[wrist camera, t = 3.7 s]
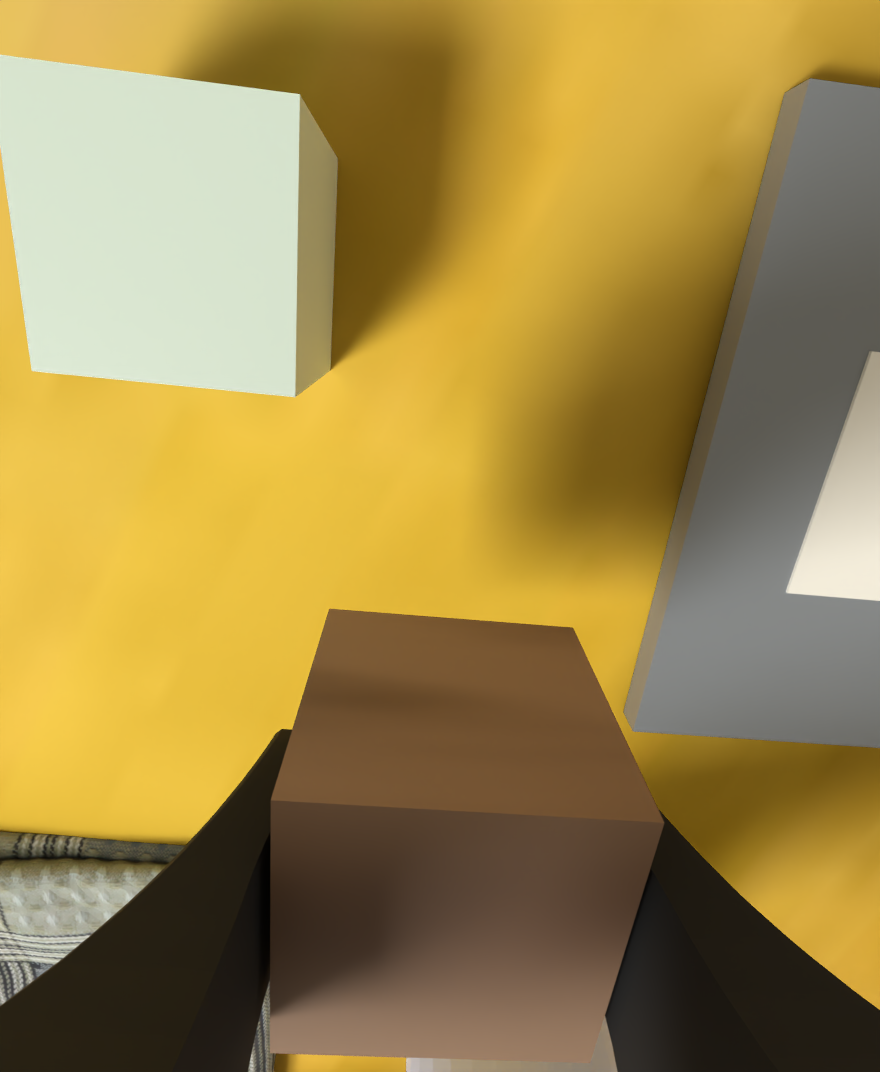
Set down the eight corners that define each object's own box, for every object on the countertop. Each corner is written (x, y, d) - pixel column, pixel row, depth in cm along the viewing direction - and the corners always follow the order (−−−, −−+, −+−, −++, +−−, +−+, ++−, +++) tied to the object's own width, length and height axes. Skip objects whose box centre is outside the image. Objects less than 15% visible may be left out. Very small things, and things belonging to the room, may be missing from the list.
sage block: (331, 370, 16) (295, 397, 12) (144, 350, 16) (31, 371, 11) (338, 159, 15) (299, 94, 10) (128, 133, 14) (-13, 52, 10)
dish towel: (285, 832, 23) (264, 911, 20) (280, 1102, 30) (264, 1192, 27) (-228, 803, 22) (-330, 882, 19) (-116, 1091, 28) (-179, 1184, 25)
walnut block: (534, 812, 14) (589, 1063, 9) (321, 801, 14) (269, 1053, 9) (572, 627, 12) (665, 822, 8) (329, 609, 12) (271, 800, 7)
